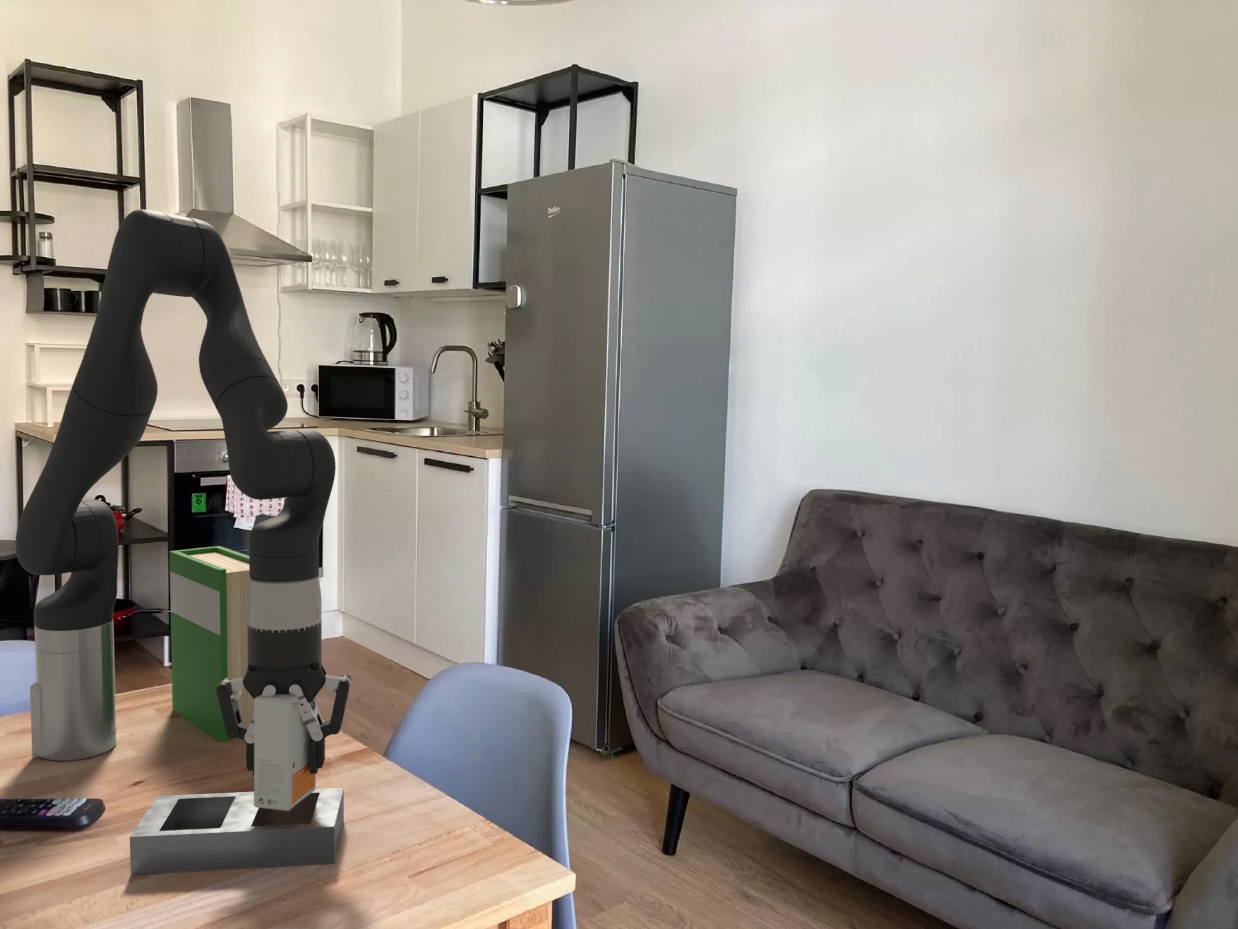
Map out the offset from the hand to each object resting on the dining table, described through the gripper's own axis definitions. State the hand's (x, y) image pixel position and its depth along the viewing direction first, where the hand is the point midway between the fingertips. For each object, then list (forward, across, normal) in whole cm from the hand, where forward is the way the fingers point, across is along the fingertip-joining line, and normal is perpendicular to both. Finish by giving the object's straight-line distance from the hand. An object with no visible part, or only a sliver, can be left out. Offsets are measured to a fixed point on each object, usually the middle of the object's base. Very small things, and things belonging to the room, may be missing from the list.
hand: (285, 771), depth 111 cm
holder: (+8, +4, 0) cm, 9 cm away
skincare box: (+3, 0, 0) cm, 3 cm away
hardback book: (+8, +15, -41) cm, 45 cm away
